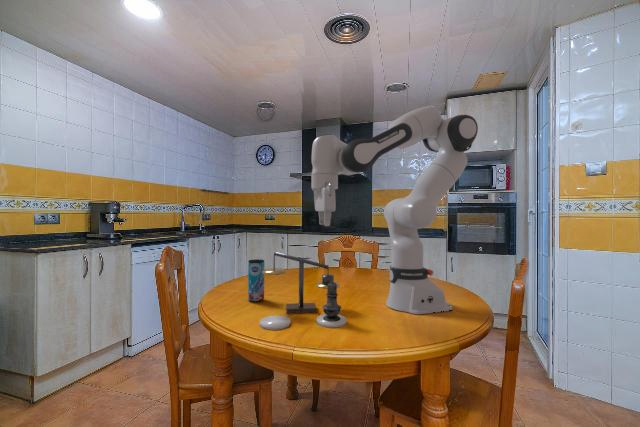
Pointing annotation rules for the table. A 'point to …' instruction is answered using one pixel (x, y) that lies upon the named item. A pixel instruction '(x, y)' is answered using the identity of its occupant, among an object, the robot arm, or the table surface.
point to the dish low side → (331, 324)
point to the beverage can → (255, 280)
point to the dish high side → (275, 322)
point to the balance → (301, 283)
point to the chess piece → (331, 304)
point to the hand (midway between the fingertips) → (324, 225)
